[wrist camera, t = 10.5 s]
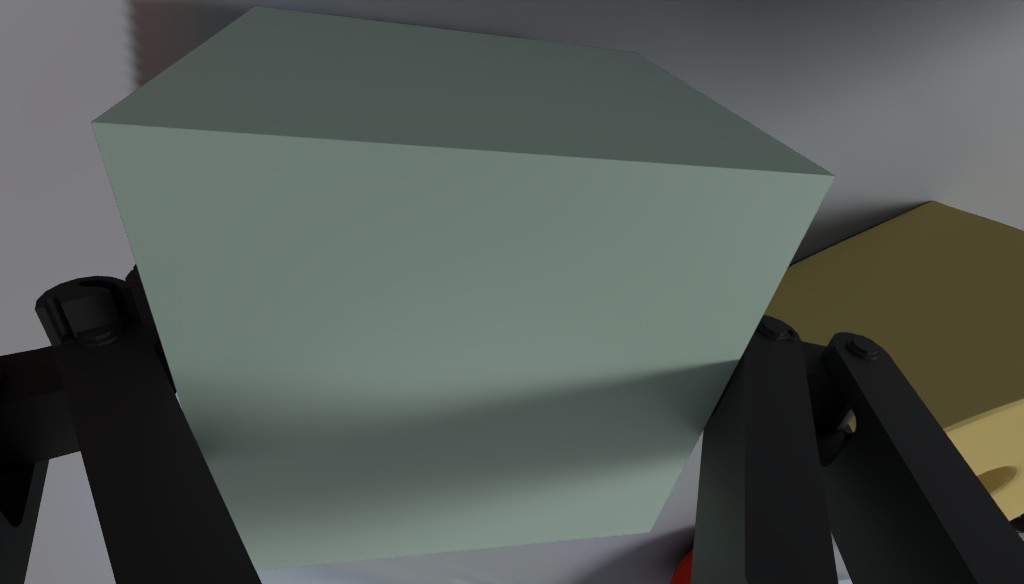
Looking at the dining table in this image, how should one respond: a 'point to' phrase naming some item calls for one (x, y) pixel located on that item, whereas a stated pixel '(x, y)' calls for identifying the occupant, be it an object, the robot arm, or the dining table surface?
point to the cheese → (933, 324)
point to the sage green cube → (444, 277)
